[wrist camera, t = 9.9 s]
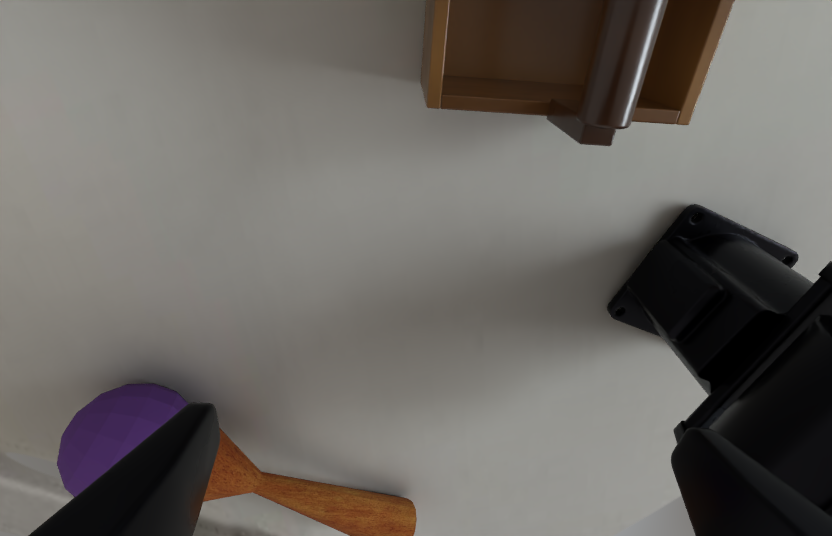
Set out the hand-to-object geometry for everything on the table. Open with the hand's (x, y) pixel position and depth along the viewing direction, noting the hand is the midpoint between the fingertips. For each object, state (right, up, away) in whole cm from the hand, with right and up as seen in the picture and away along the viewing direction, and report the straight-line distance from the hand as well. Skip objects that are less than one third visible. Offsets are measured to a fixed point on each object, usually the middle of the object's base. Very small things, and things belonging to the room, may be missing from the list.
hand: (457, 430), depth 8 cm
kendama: (-10, -8, +19) cm, 23 cm away
